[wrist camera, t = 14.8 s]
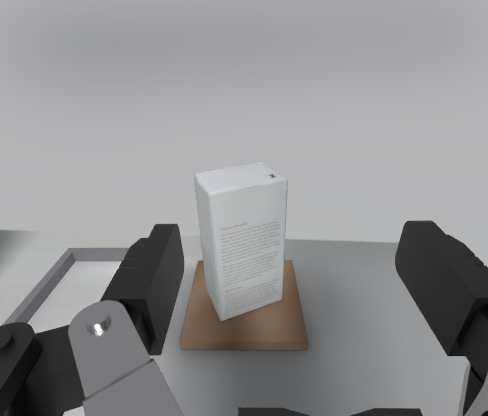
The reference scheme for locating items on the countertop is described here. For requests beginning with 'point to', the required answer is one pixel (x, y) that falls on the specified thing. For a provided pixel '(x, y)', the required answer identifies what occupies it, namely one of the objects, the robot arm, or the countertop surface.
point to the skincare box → (242, 236)
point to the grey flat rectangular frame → (57, 273)
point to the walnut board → (244, 321)
